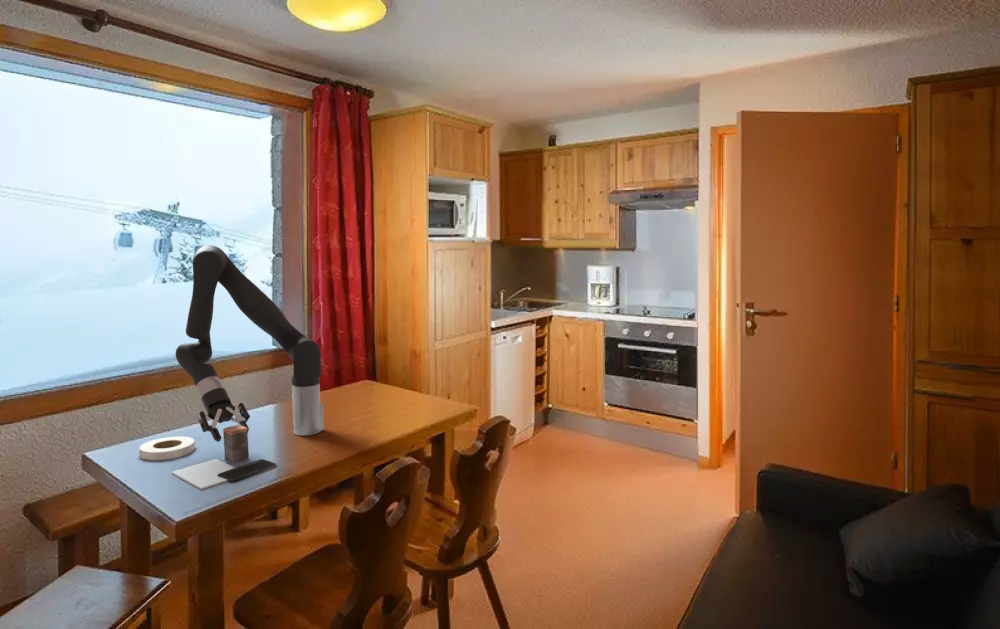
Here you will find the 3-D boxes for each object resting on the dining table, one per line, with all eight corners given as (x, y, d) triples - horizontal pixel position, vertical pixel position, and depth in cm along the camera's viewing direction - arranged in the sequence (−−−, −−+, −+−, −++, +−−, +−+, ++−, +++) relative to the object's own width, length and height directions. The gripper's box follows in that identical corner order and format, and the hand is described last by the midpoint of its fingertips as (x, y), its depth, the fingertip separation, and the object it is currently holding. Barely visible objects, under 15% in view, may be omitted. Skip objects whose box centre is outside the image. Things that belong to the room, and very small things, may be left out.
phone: (215, 474, 172) (261, 458, 184) (215, 478, 172) (261, 462, 184) (232, 480, 167) (278, 464, 180) (232, 484, 168) (278, 467, 180)
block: (240, 455, 189) (238, 424, 188) (248, 459, 186) (247, 427, 185) (224, 459, 185) (223, 428, 184) (233, 463, 182) (231, 431, 181)
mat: (216, 460, 184) (216, 458, 184) (246, 475, 173) (246, 473, 173) (171, 473, 174) (171, 471, 174) (201, 489, 163) (201, 488, 163)
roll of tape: (177, 441, 203) (176, 432, 202) (205, 449, 195) (204, 441, 194) (129, 455, 189) (128, 446, 189) (157, 464, 182) (156, 455, 181)
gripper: (193, 391, 183) (214, 436, 178) (238, 383, 194) (259, 424, 189) (186, 405, 187) (206, 449, 182) (231, 396, 198) (251, 437, 193)
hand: (233, 436), depth 185 cm, fingers open, 8 cm apart
